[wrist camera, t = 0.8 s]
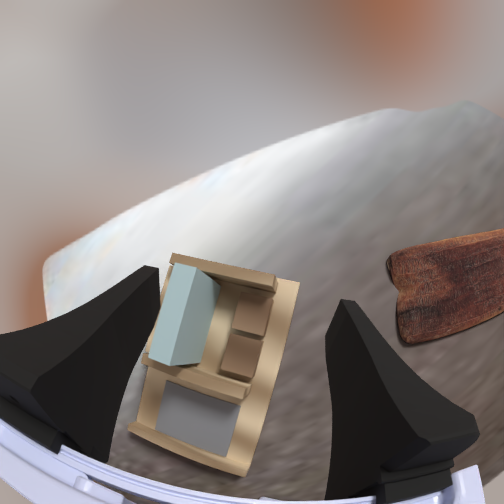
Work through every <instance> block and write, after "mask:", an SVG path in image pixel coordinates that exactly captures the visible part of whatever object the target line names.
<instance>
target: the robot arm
mask: <svg viewBox="0 0 504 504" xmlns="http://www.w3.org/2000/svg"><path fill="white" fill-rule="evenodd" d="M160 308H161V303H160V286H159V268H156V267H151V266H146V265H144V266H143V267H141V268H140V269H138V270H137V271H135V272H134V273H132V274H131V275H129V276H128V277H126V278H125V279H123V280H122V281H120V282H119V283H117V284H116V285H114V286H113V287H111V288H110V289H109V290H107V291H105V292H104V293H102V294H100V295H99V296H97V297H95V298H94V299H92V300H91V301H89V302H87V303H85V304H84V305H82V306H80V307H78V308H76V309H74V310H72V311H70V312H68V313H66V314H64V315H61V316H59V317H57V318H54V319H52V320H49V321H47V322H44V323H42V324H39V325H36V326H33V327H29V328H26V329H23V330H19V331H15V332H10V333H5V334H0V478H1V479H2V480H4V481H5V482H6V483H7V484H8V485H10V486H11V487H12V488H13V489H15V490H16V491H17V492H18V493H20V494H21V495H22V496H24V497H25V498H26V499H28V500H29V501H30V502H32V503H34V504H136V503H134V502H132V501H129V500H128V499H126V498H124V496H123V495H122V494H119V493H117V492H115V491H112V490H110V489H108V488H106V487H103V486H101V485H99V484H97V483H95V482H94V481H93V480H96V481H98V482H100V483H103V484H105V485H108V486H110V487H113V488H115V489H118V490H121V491H124V492H126V493H129V494H132V495H135V496H138V497H141V498H145V499H148V500H151V501H155V502H158V503H162V504H485V499H484V494H483V488H482V483H481V479H480V474H479V470H478V466H477V465H474V466H471V467H468V468H466V469H463V470H460V471H457V472H455V473H453V474H451V472H450V468H452V467H454V461H453V458H454V457H456V456H457V455H459V454H460V453H461V452H463V451H464V450H466V449H467V448H468V447H470V446H471V445H472V444H473V443H474V442H475V441H476V440H477V439H478V437H479V435H480V433H479V430H478V426H477V423H476V420H475V417H474V415H473V414H471V413H469V412H467V411H466V410H464V409H462V408H461V407H459V406H457V405H455V404H454V403H452V402H451V401H449V400H448V399H447V398H445V397H444V396H442V395H441V394H440V393H438V392H437V391H436V390H434V389H433V388H432V387H431V386H430V385H428V384H427V383H426V382H425V381H424V380H422V379H421V378H420V377H419V376H418V375H417V374H416V373H415V372H414V371H413V370H412V369H411V368H410V367H409V366H408V365H407V364H406V363H405V362H404V361H403V360H402V359H401V358H400V357H399V356H398V355H397V353H396V352H395V351H394V350H393V349H392V348H391V346H390V345H389V344H388V343H387V342H386V340H385V339H384V338H383V337H382V335H381V334H380V333H379V331H378V330H377V329H376V328H375V326H374V325H373V324H372V322H371V321H370V320H369V318H368V317H367V316H366V314H365V313H364V312H363V310H362V309H361V308H360V307H359V305H358V304H357V303H356V302H355V301H351V300H344V299H341V300H340V302H339V305H338V307H337V310H336V312H335V314H334V317H333V319H332V321H331V324H330V326H329V328H328V330H327V333H326V335H325V351H326V364H327V371H328V378H329V386H330V393H331V401H332V447H331V459H330V469H329V477H328V483H327V489H326V494H325V499H324V501H280V500H276V499H271V498H267V497H261V498H259V500H256V499H246V498H237V497H229V496H222V495H215V494H209V493H204V492H199V491H194V490H189V489H184V488H180V487H176V486H172V485H168V484H164V483H160V482H157V481H153V480H150V479H146V478H143V477H140V476H137V475H134V474H131V473H128V472H125V471H122V470H120V469H117V468H114V467H112V466H109V465H106V464H104V463H106V462H108V459H109V453H110V447H111V442H112V437H113V432H114V428H115V424H116V420H117V416H118V412H119V409H120V405H121V402H122V398H123V395H124V392H125V389H126V386H127V383H128V380H129V378H130V375H131V373H132V370H133V368H134V366H135V364H136V362H137V360H138V358H139V356H140V354H141V352H142V350H143V348H144V346H145V344H146V342H147V340H148V338H149V336H150V334H151V332H152V330H153V328H154V325H155V322H156V320H157V317H158V314H159V311H160ZM92 479H93V480H92Z"/></svg>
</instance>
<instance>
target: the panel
mask: <svg viewBox="0 0 504 504" xmlns="http://www.w3.org/2000/svg"><path fill="white" fill-rule="evenodd" d="M220 289H221V286H220V285H219V284H218V283H216V282H215V281H214V280H212V279H211V278H210V277H208V276H207V275H206V274H205V273H203V272H202V271H201V270H199V269H198V268H197V267H192V266H188V265H184V264H180V263H175V264H174V267H173V270H172V273H171V277H170V280H169V283H168V286H167V290H166V293H165V296H164V300H163V303H162V307H161V310H160V314H159V317H158V321H157V325H156V328H155V332H154V336H153V340H152V343H151V347H150V351H149V355H148V358H151V359H153V360H156V361H158V362H161V363H163V364H166V365H168V366H174V365H184V364H193V363H200V362H201V359H202V355H203V351H204V347H205V344H206V340H207V336H208V332H209V329H210V325H211V321H212V318H213V314H214V310H215V307H216V303H217V300H218V296H219V292H220Z"/></svg>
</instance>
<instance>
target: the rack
mask: <svg viewBox="0 0 504 504" xmlns="http://www.w3.org/2000/svg"><path fill="white" fill-rule="evenodd" d="M169 263H171V264H172V265H174V264H175V263H180V264H184V265H188V266H192V267H197V268H198V269H199V270H201V271H202V272H203V273H205V274H206V275H207V276H208V277H210V278H211V279H212V280H214V281H215V282H216V283H218V284H219V285H220V286H221V289H220V292H219V296H218V300H217V303H216V307H215V310H214V314H213V318H212V321H211V325H210V329H209V332H208V336H207V340H206V344H205V347H204V351H203V355H202V359H201V362H200V363H193V364H184V365H174V366H168V365H166V364H163V363H161V362H158V361H156V360H153V359H151V358H148V355H149V353H143V357H142V361H141V363H142V364H145V365H147V366H148V371H147V375H146V379H145V383H144V388H143V392H142V397H141V401H140V406H139V410H138V415H137V420H136V421H135V422H132V423H129V424H128V429H127V430H129V431H131V432H133V433H134V434H136V435H138V436H140V437H142V438H144V439H146V440H148V441H150V442H152V443H155V444H157V445H159V446H161V447H163V448H165V449H168V450H170V451H172V452H175V453H177V454H179V455H182V456H184V457H187V458H189V459H192V460H194V461H197V462H199V463H202V464H205V465H208V466H210V467H213V468H216V469H219V470H222V471H225V472H229V473H232V474H235V475H238V476H242V477H245V476H246V474H247V472H248V470H249V468H250V465H251V462H252V459H253V456H254V452H255V449H256V446H257V443H258V440H259V437H260V433H261V430H262V427H263V423H264V420H265V417H266V413H267V410H268V407H269V403H270V400H271V396H272V393H273V389H274V385H275V382H276V378H277V374H278V371H279V367H280V363H281V359H282V356H283V352H284V348H285V344H286V340H287V336H288V332H289V328H290V324H291V320H292V316H293V311H294V307H295V303H296V298H297V294H298V290H299V285H300V283H299V282H294V281H289V280H284V279H280V278H276V276H275V275H274V274H269V273H264V272H259V271H254V270H250V269H245V268H240V267H235V266H231V265H226V264H221V263H217V262H212V261H207V260H203V259H198V258H194V257H189V256H185V255H180V254H176V253H172V256H171V259H170V262H169ZM173 267H174V266H169V269H168V273H167V276H166V279H165V282H164V286H163V289H162V292H161V296H160V303H161V307H162V303H163V300H164V296H165V293H166V290H167V286H168V283H169V280H170V277H171V273H172V270H173ZM241 291H242V292H246V293H251V294H255V295H260V296H264V297H269V298H273V300H274V303H273V307H272V311H271V315H270V319H269V323H268V327H267V331H266V335H265V336H262V335H258V334H254V333H250V332H246V331H242V330H238V329H234V328H231V327H232V323H233V320H234V316H235V312H236V308H237V305H238V301H239V297H240V293H241ZM160 310H161V308H160ZM159 314H160V311H159ZM159 314H158V317H159ZM158 317H157V320H156V322H155V325H154V328H153V330H152V332H151V334H150V336H149V339H148V343H147V346H146V350H145V351H147V352H149V351H150V347H151V343H152V340H153V336H154V332H155V328H156V325H157V321H158ZM230 333H233V334H237V335H241V336H245V337H249V338H252V339H256V340H260V341H264V343H263V347H262V350H261V354H260V358H259V362H258V366H257V369H256V373H255V376H254V377H252V378H250V377H247V376H243V375H240V374H236V373H233V372H229V371H226V370H223V369H220V368H221V365H222V361H223V357H224V353H225V350H226V346H227V342H228V338H229V335H230ZM166 380H168V381H171V382H173V383H176V384H178V385H181V386H184V387H186V388H189V389H192V390H194V391H197V392H200V393H203V394H206V395H209V396H212V397H215V398H218V399H221V400H224V401H227V402H231V403H234V404H237V405H241V408H240V411H239V415H238V418H237V422H236V425H235V429H234V432H233V436H232V439H231V442H230V446H229V449H228V453H227V456H226V457H224V456H221V455H218V454H215V453H212V452H209V451H206V450H204V449H201V448H198V447H196V446H193V445H190V444H188V443H185V442H183V441H180V440H178V439H176V438H173V437H171V436H169V435H166V434H164V433H162V432H160V431H157V430H155V427H156V422H157V418H158V413H159V409H160V405H161V400H162V396H163V392H164V388H165V384H166Z"/></svg>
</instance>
